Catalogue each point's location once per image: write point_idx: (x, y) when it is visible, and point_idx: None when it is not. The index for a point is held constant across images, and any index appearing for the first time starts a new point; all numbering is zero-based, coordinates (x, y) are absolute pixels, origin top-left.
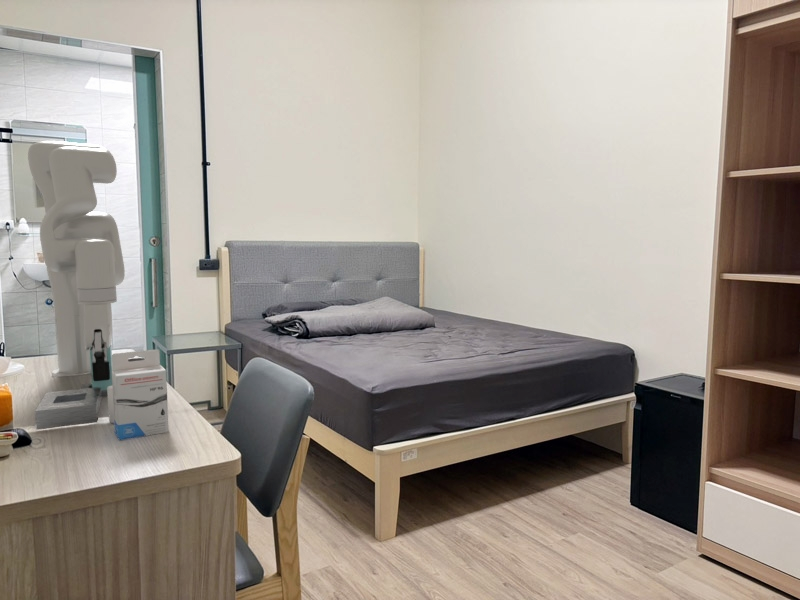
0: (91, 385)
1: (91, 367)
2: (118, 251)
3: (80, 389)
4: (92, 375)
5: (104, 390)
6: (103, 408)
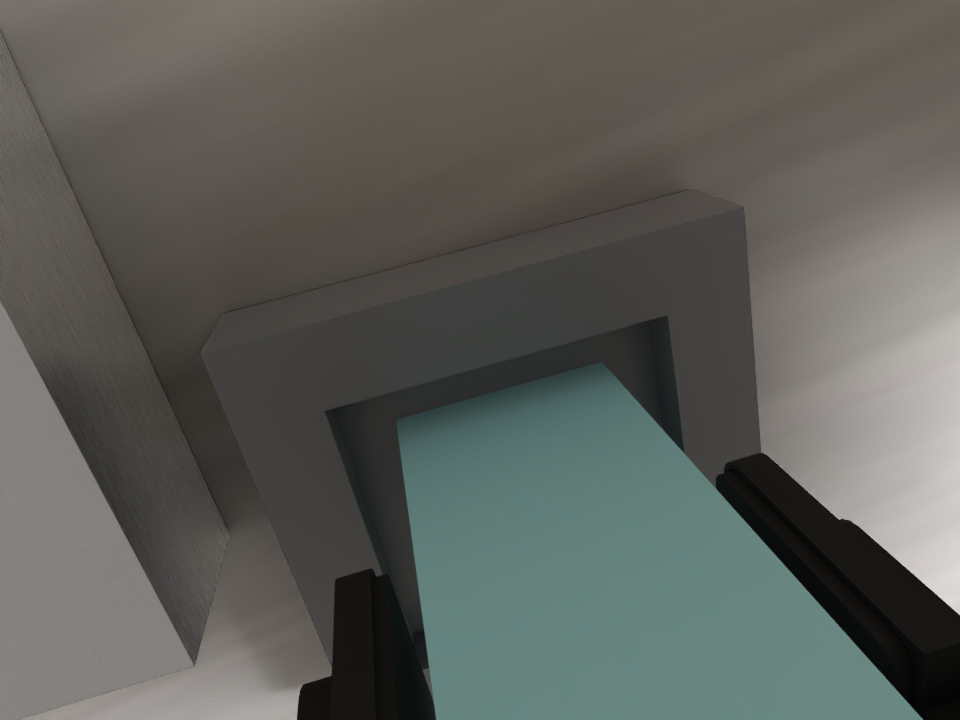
0: (671, 335)
1: (436, 682)
2: None
3: (58, 474)
4: (419, 579)
5: None
6: None
